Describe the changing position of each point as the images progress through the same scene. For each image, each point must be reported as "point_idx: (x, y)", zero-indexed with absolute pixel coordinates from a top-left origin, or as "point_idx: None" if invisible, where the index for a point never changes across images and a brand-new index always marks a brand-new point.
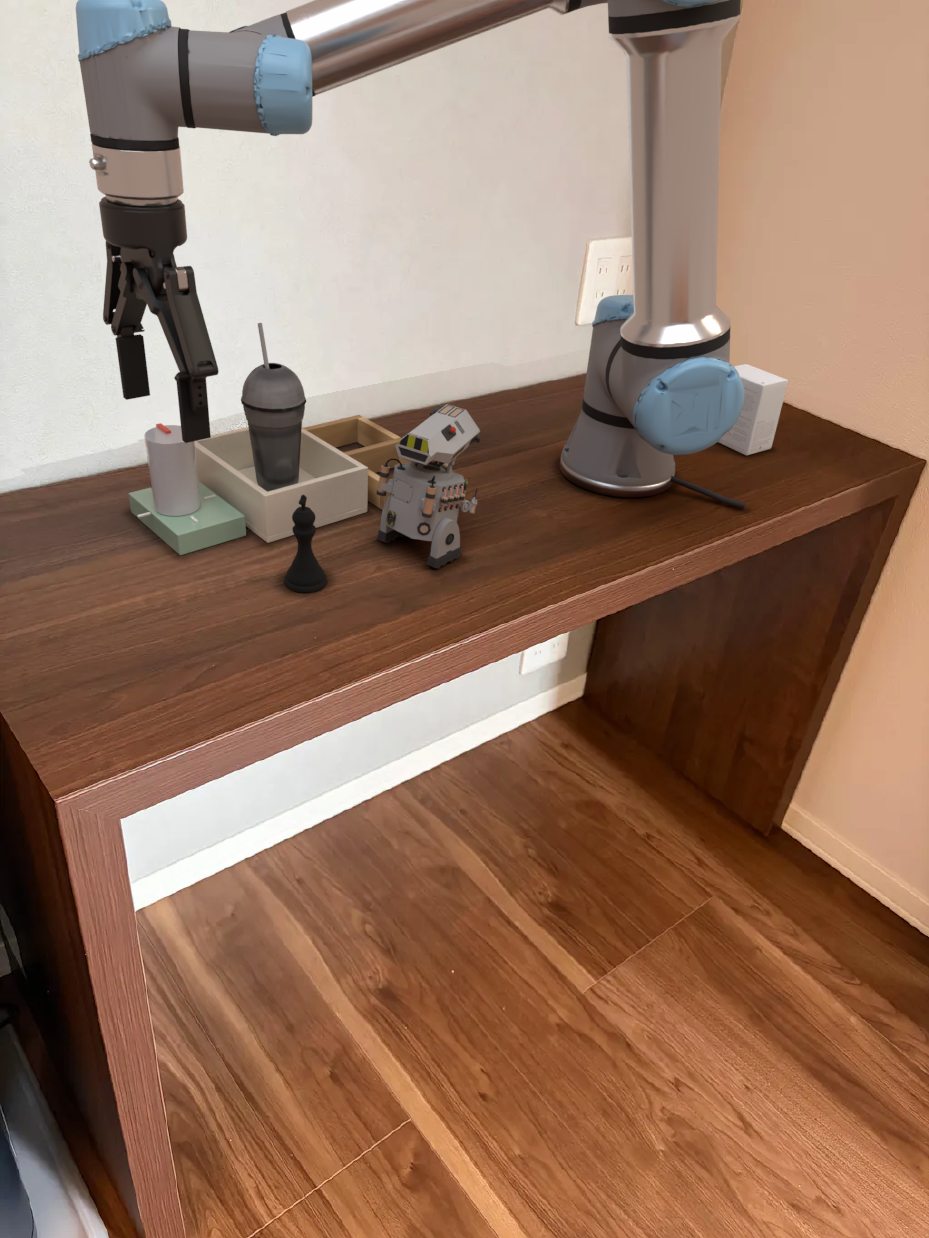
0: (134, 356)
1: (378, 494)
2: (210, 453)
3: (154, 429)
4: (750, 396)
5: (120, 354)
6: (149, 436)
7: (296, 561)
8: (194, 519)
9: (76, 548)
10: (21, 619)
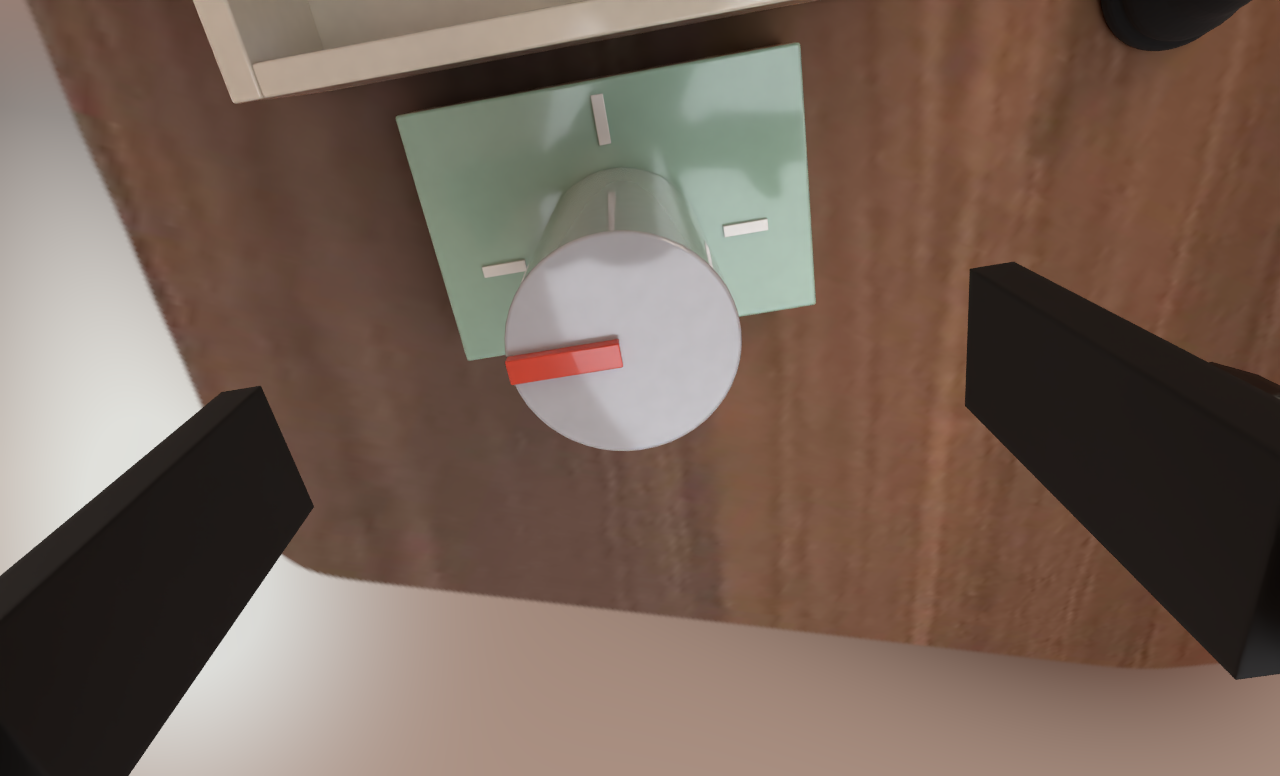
0: (135, 611)
1: None
2: (411, 47)
3: (544, 395)
4: None
5: (166, 717)
6: (620, 434)
7: (1241, 4)
8: (750, 228)
9: (634, 494)
10: (878, 624)
